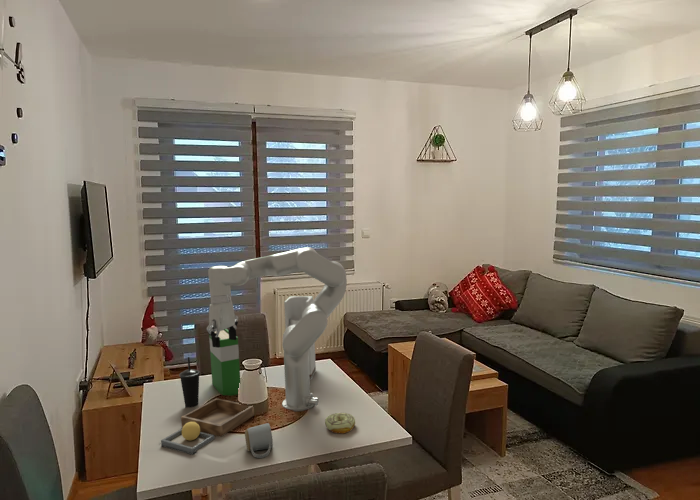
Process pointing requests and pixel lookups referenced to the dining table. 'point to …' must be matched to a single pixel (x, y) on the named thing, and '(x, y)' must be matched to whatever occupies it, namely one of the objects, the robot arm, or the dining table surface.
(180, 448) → the dish
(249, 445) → the ceramic mug
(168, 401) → the dining table surface
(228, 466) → the dining table surface
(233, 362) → the hardback book
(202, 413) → the walnut box
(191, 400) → the drinking cup
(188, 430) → the ball
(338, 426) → the decorated donut
